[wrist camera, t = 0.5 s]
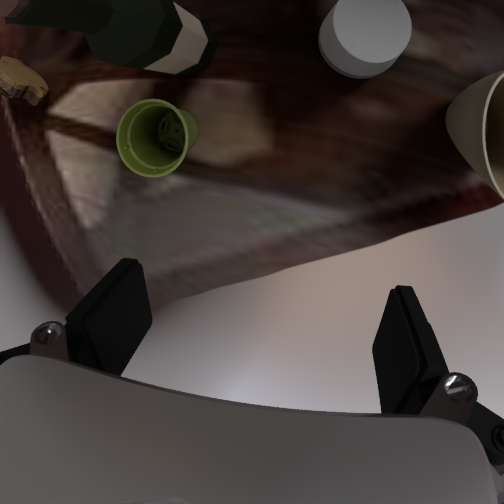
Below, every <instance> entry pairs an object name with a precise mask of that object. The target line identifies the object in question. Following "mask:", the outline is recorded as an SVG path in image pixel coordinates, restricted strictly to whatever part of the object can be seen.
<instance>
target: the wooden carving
mask: <svg viewBox="0 0 504 504" xmlns="http://www.w3.org/2000/svg"><path fill="white" fill-rule="evenodd" d="M48 90H49V89H48V86H47V84H46V82H45V81H44V79H43V78H42V77H41V76H40V75H39V74H37V73H36V72H35V71H33V70H32V69H30V68H29V67H26V66H25V65H24V64H23V63H22V62H21V61H20V60H18V59H14V58H10V57H6V56H3V57H2V58H1V60H0V93H1V95H3V96H8V97H9V98H14V97H16V98H24V99H26V100H27V101H28V102H29V103H30V104H31V105H33V106H37V104H38V102H41V101H42V100H43V98H44V96H45V95H46V93H47V91H48Z"/></svg>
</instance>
